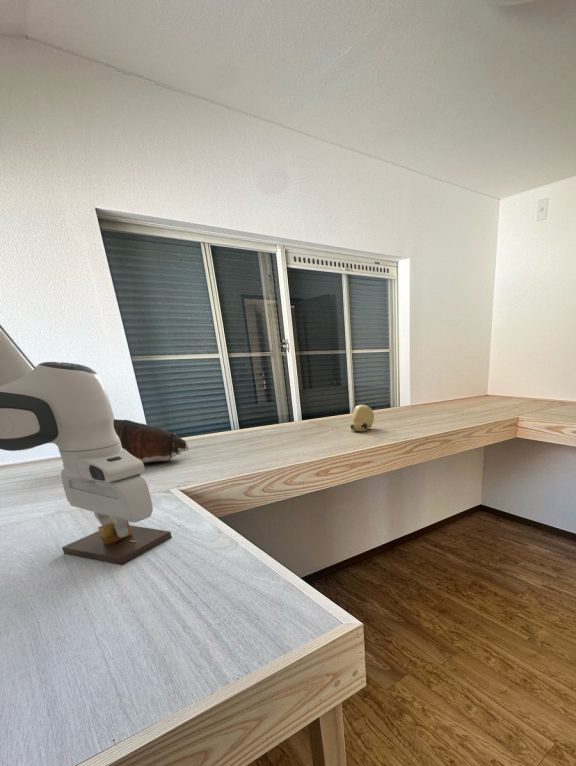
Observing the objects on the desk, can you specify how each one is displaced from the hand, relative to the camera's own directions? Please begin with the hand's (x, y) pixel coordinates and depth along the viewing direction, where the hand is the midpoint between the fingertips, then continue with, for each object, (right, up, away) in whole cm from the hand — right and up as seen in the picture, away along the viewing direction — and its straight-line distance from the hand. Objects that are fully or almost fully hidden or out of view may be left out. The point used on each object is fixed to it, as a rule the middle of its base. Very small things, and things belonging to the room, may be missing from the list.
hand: (116, 534), depth 77 cm
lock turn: (0, -1, 0) cm, 1 cm away
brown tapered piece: (-27, +20, +59) cm, 68 cm away
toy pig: (+40, +39, +101) cm, 116 cm away
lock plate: (0, -4, +1) cm, 4 cm away
